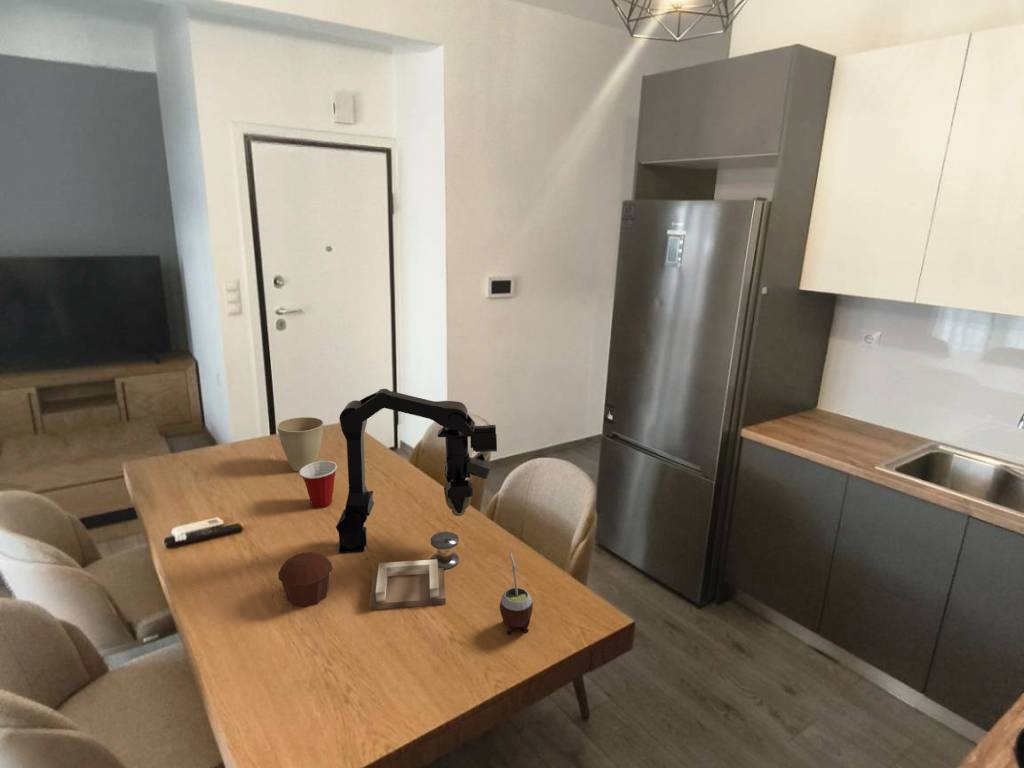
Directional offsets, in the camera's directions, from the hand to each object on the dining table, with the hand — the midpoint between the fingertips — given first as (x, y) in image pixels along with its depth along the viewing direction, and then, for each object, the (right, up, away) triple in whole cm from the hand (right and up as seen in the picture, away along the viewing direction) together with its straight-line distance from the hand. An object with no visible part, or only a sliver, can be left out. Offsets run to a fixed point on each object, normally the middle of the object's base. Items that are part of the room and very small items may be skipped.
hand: (458, 506), depth 153 cm
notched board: (-10, -16, -16) cm, 25 cm away
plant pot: (-58, +3, +49) cm, 76 cm away
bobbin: (-3, -13, -4) cm, 14 cm away
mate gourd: (+15, -20, -26) cm, 36 cm away
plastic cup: (-44, -4, +24) cm, 50 cm away
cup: (0, -2, +1) cm, 2 cm away
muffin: (-33, -17, -18) cm, 42 cm away
